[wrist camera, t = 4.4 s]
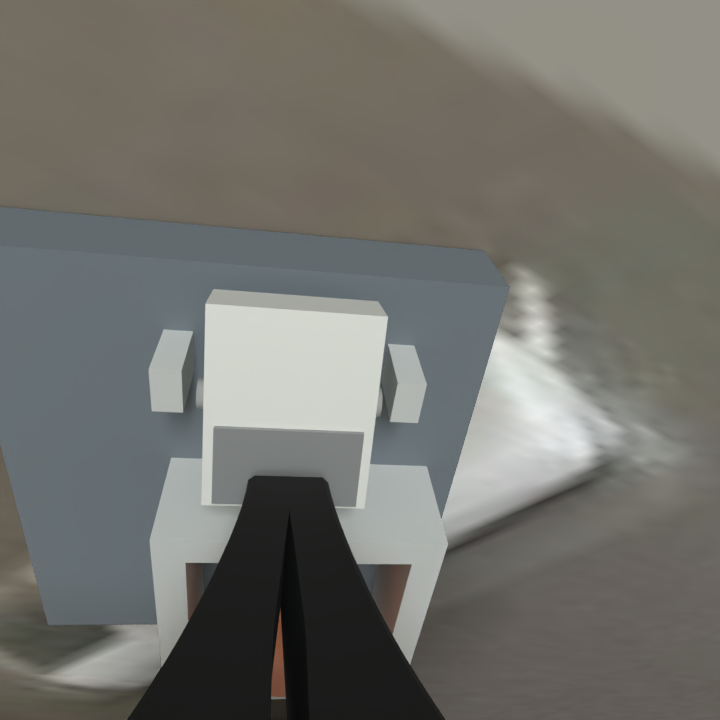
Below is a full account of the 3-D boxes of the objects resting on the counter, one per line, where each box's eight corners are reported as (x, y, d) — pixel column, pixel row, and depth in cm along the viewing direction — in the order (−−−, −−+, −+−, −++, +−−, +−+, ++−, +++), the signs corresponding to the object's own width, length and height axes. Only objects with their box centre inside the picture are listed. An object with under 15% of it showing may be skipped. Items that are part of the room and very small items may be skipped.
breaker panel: (401, 569, 20) (424, 702, 17) (70, 567, 19) (13, 714, 15) (484, 251, 14) (553, 349, 10) (-7, 206, 12) (-139, 303, 9)
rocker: (366, 477, 13) (374, 511, 12) (199, 472, 12) (190, 507, 11) (388, 301, 12) (400, 318, 10) (202, 288, 11) (192, 303, 10)
